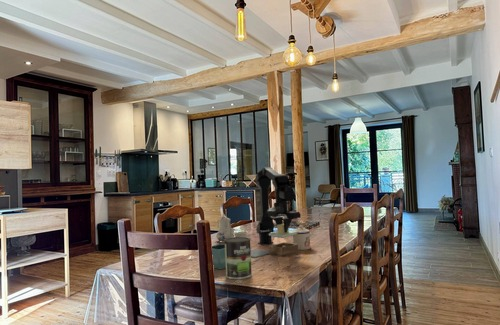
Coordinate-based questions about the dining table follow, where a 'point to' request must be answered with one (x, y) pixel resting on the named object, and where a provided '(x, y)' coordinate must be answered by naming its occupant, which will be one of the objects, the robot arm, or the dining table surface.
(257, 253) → the coaster
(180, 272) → the dining table surface
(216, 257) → the flower pot
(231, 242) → the coffee can
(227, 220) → the chinaware
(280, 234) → the lid
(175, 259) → the dining table surface
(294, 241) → the teacup with lid
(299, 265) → the dining table surface
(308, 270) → the dining table surface
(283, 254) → the box
